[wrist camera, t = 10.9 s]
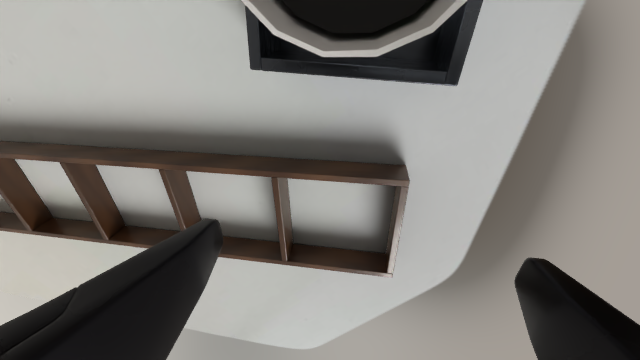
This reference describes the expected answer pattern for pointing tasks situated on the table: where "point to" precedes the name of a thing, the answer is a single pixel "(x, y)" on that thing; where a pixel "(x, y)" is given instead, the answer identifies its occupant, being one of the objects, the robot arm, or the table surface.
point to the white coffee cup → (352, 23)
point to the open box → (396, 65)
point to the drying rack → (192, 201)
